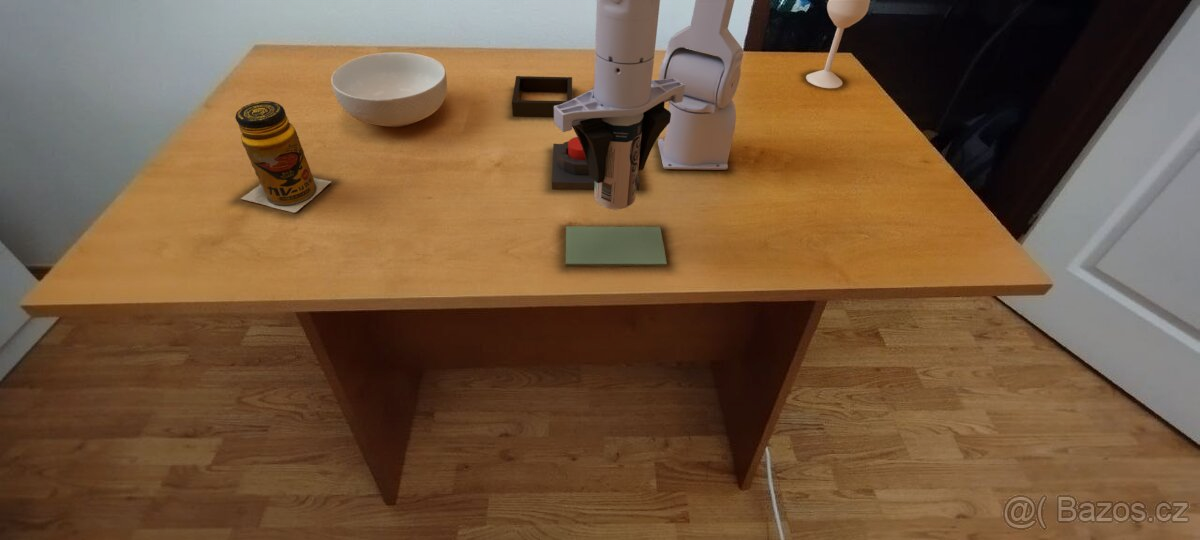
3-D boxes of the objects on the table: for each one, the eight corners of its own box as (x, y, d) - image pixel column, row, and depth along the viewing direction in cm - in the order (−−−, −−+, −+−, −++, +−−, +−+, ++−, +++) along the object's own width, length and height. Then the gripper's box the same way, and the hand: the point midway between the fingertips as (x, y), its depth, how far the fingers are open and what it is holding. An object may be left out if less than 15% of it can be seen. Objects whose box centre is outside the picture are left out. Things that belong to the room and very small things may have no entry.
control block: (633, 151, 87) (634, 133, 85) (638, 190, 80) (640, 171, 78) (553, 150, 86) (553, 132, 84) (551, 189, 79) (551, 170, 77)
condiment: (296, 213, 73) (261, 129, 65) (240, 200, 75) (200, 115, 67) (332, 182, 78) (304, 100, 70) (279, 170, 80) (246, 89, 72)
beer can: (640, 209, 66) (651, 113, 58) (601, 215, 65) (605, 118, 57) (627, 185, 69) (635, 92, 61) (589, 191, 68) (592, 96, 60)
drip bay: (572, 90, 101) (572, 76, 99) (572, 117, 94) (572, 103, 92) (516, 89, 100) (516, 75, 99) (512, 116, 93) (511, 102, 92)
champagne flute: (847, 89, 106) (898, -58, 89) (810, 87, 105) (855, -60, 89) (836, 73, 110) (883, -69, 94) (801, 71, 110) (842, -71, 94)
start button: (593, 147, 83) (593, 136, 81) (593, 161, 80) (594, 150, 79) (568, 147, 82) (568, 136, 81) (568, 160, 80) (567, 149, 79)
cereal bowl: (415, 151, 85) (406, 107, 80) (319, 130, 88) (305, 86, 83) (470, 101, 97) (465, 60, 92) (384, 84, 100) (375, 43, 95)
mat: (660, 229, 74) (660, 226, 73) (666, 266, 69) (667, 263, 68) (566, 228, 73) (566, 226, 73) (565, 266, 68) (565, 263, 68)
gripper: (662, 25, 61) (650, 139, 70) (538, 49, 55) (542, 170, 64) (704, 50, 56) (685, 168, 65) (573, 79, 51) (572, 204, 60)
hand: (616, 171), depth 65 cm, fingers closed on beer can, 5 cm apart
